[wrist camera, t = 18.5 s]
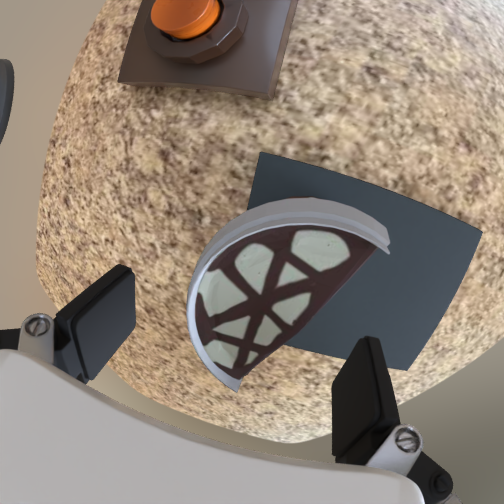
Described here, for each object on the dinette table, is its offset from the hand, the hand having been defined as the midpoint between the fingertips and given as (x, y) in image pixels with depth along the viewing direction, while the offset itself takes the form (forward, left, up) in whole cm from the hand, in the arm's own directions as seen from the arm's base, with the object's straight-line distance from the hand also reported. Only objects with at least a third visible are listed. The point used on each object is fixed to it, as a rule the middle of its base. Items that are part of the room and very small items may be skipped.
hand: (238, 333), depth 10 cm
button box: (-9, +15, -12) cm, 21 cm away
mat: (+7, -2, -12) cm, 14 cm away
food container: (0, 0, -12) cm, 12 cm away
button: (-9, +15, -8) cm, 19 cm away
